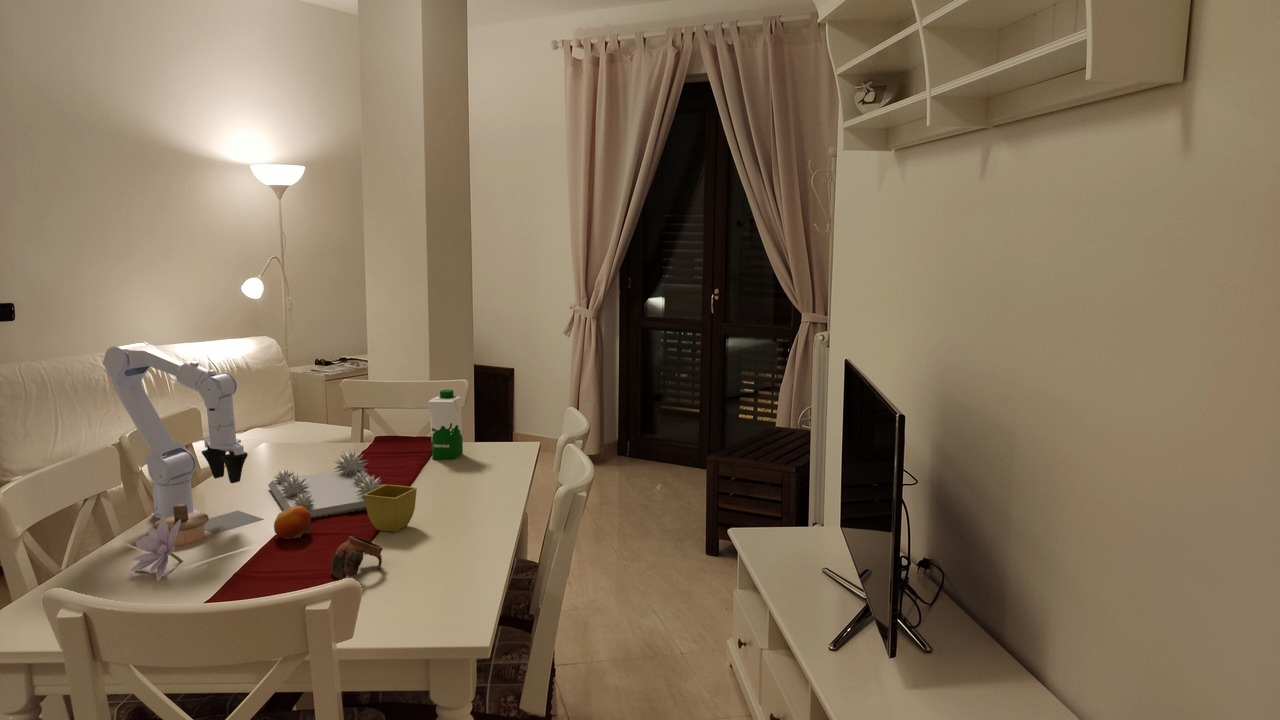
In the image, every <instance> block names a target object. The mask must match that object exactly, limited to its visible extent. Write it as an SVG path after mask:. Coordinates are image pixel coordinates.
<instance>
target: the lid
mask: <svg viewBox="0 0 1280 720" xmlns="http://www.w3.org/2000/svg"><path fill="white" fill-rule="evenodd" d="M173 511H174V515H172V516H169V517H165V519H166V522H167V525H168V532H170V531H171V529H172V527H173V526H175V524H176V523H177V522H178V521H179V520H180V519H181V523H180V528H179V531H184V530H189V529H193V528H196V527H199V526H202V525H204V524H206V523H207V522H208V520H209V515H208V514H207V513H205V512H201V513H188V511H187V504H177V505H174V506H173ZM159 522H160V519H158V520H156V521H155V522H154V524H153V529H154V528H155V529H156V530H157V527H158V526H159Z"/></svg>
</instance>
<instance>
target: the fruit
mask: <svg viewBox="0 0 1280 720" xmlns="http://www.w3.org/2000/svg"><path fill="white" fill-rule="evenodd" d="M311 524H312V519H311V516H310V512H309V511H308V510H307V509H306V508H305V507H303V506H293V507H290V508H288V509H286V510H283V511H282V510H281V512H280V513H278V514H277V516H276V518H275V521H274V522H273V530H274V533H275V534H276V535H277V536H278V537H280V538H281V537H288V538H293V539H297V538H296V537H300V538H301V537H302V535H304V534H309V533H308V532H310V529H311Z"/></svg>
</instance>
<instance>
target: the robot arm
mask: <svg viewBox="0 0 1280 720" xmlns="http://www.w3.org/2000/svg"><path fill="white" fill-rule="evenodd" d="M102 365H103V366H104V369H105V370H106V372H107V374H108V375H109V377H110V379H111V385H112V387H113V389H114V391H115V394H116V395H117V397H119V400H120V401H121V404H122V406H123V407H124V408H125V411H126V412H127V413H128V415H129V417H130V419H131V420H132V422H133V424H134V426H135V427H136V430H137V431H138V433H139V435H140V436H141V438H142V440H143V441H144V443H145V445H146V446H147V448H148V453H147V454H146V456H145V458H144V462H145V464H146V466H147V472H148V475H149V477H150V479H151V480H152V481H153V482H154V484H153V487H152V498H153V506H154V507H153V508H154V512H153V513H151V514H150V516H152V517H154V516H155V517H154V518H157V519H160V518H161V516H162V515H164V517H169V516H172V515H174V511H173V506H174V505H177V504H187V511H188V513H202V511H200V510H196V509H194V500H193V491H192V482H191V481H192V480H191V478H193V473H194V472H195V470H196V468H197V460H196V458H195V456H194V454H193V452H192V451H190V450H188V449H187V448H186V446H185V445H184V443H183V442H180V441H177V440H175V439H173V438H172V437H171V435H170V433H169V431H168V429H167V428H166V426H165V425H164V422H163V421H162V419H161V417H160V416H159V414H158V412H157V410H156V409H155V406H154V405H153V404H152V401H151V400H150V399H149V397H148V395H147V393H146V390H145V389H144V387H143V386H142V381H143V379H144V378H145V377H146V375H147V373H148V371H149V370H150V369H151V368H152V369H156V370H158V371H160V372H163V373H166V374H169V375H171V376H175V377H176V378H175V379H176V381H177V383H178V384H180V385H182V386H185V387H187V388H188V389H190V390H193V391H196V392H198V393H199V395H200V397H201V398H202V399H203V401H204V402H203V403H204V406H205V408H206V413H207V415H206V416H207V423H208V425H207V426H208V434H209V435H208V436H209V438H206V439H204V440H203V441H204V442H203V443H204V448H206V449H203V450H202V451H201V455H202V456H203V457H204V458H205V460H206V461H207V464H208V465H209V468H210V471H211V473H212V476H213V478H214V479H219V478H223V477H224V476H225V468H226V471H227V477H228V480H229V482H230V484H235V483H239V482H241V478H242V473H243V467H244V464H245V462H246V459H247V457H248V455H249V454H248V452H246V451H244V445H242V444H241V443H242V440H241V439H239V438H237V435H236V422H235V413H234V401H233V395H234V394H235V393H236V391H237V389H238V388H237V387H238V385H237V380H236V379H235V377H233V376H232V375H231V374H230V373H228V372H221V373H218V372H216V371H215V369H208V368H206V367H204V366H202V365H200V363H199V362H198V361H195V360H194V361H187V362H185V363H183V362H182V361H180V360H177V359H175V358H173V357H172V356H170V355H168V354H166V353H164V352H162V351H161V350H159V349H157V347H156V346H155V344H154V345H153V344H150V343H149V342H145V341H139V342H136V343H131V344H125V345H118V346H117V345H116V346H110V347H109V348H107V349H106V351H105V354H104V358H103V360H102ZM227 452H228V453H227Z"/></svg>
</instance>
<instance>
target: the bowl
mask: <svg viewBox="0 0 1280 720" xmlns="http://www.w3.org/2000/svg"><path fill="white" fill-rule="evenodd" d="M153 529H155V528H154V527H153ZM205 534H206V530H205V527H204V525H202V526H199V527H196V528H193V529H189V530H184V531H178V534H177V536H176V538H175V540H174V542H173V544H172V545H171V546H174V547H175V546H182V545H187V544H191V543H193V542H197V541H199V540H201V539H202V538H204V537H205ZM169 536H170V532H169ZM168 542H169V540H168Z"/></svg>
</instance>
